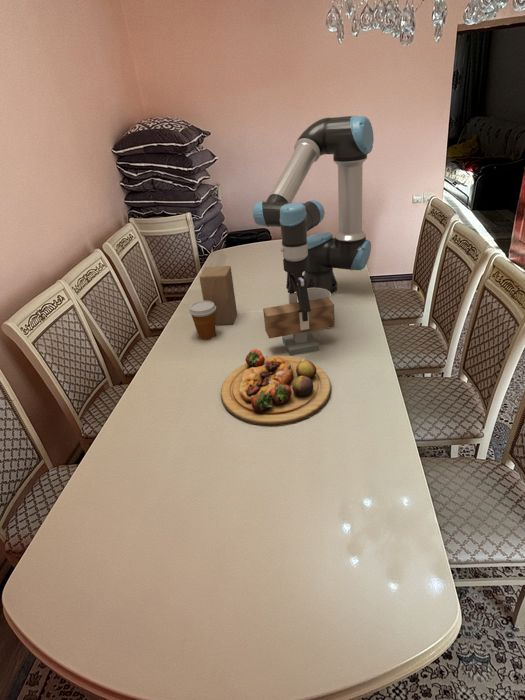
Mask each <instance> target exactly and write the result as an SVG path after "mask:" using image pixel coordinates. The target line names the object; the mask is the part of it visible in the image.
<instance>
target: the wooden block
mask: <svg viewBox="0 0 525 700" xmlns="http://www.w3.org/2000/svg"><path fill="white" fill-rule="evenodd" d="M198 279H199V282H200V288H201V296H202V301H211V302H213V303H214V305H215V306H216V310H215V323H216V326H230V325H234V323H235V320H236V317H237V313H238V309H237V304H236V296H235V288H234V282H233V281H234V280H233V272H232V267H231V265H218V266H205V267H204V268H203V270H202V272H201V273H200V275H199V278H198Z"/></svg>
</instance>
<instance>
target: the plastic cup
mask: <svg viewBox="0 0 525 700" xmlns="http://www.w3.org/2000/svg"><path fill="white" fill-rule="evenodd" d="M307 291H308V297H309V301H310V300H316V299H322V298H329V299H331V295H332V294H331V293H330V291H328V290H326V289H322V288H307Z"/></svg>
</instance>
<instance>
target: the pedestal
mask: <svg viewBox="0 0 525 700" xmlns="http://www.w3.org/2000/svg"><path fill="white" fill-rule="evenodd" d="M281 337H282V343H283V344H284V346H285V349H286V351H287V353H288V354H289V355H288V356H296V355H300V354H307V353H310V352H311V353H312V352H317V351H320V343H319V342H318V341H317V339H316V338H315V336H314V334H313V333H312V331H309V332H303V333H298V334H292V335H287V336H281Z"/></svg>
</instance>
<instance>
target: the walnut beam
mask: <svg viewBox="0 0 525 700" xmlns="http://www.w3.org/2000/svg"><path fill="white" fill-rule="evenodd" d="M309 303H310V309H311V311H310V312H309V329H306V330H300V315H299V313H298V310H300V307H299V302H297V303H293V304H289V303H288V304H283V305H281V304H280V305H277V306H271V307H264V308H262V311H263V312H262V313H263V319H264V321H263V322H264V329H265V332H266V335H267V337H268V339H269V340H270V339H275V338H279V337H282V336H287V335H292V334H298V333H303V332H309V331H311V332H313V331H318V330H325V329H329V328H335V327H336V326H335V324H336V323H335V321H336V320H335V303H334V302H333V301H332V300H331V298H322V299H316V300H310V301H309Z"/></svg>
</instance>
